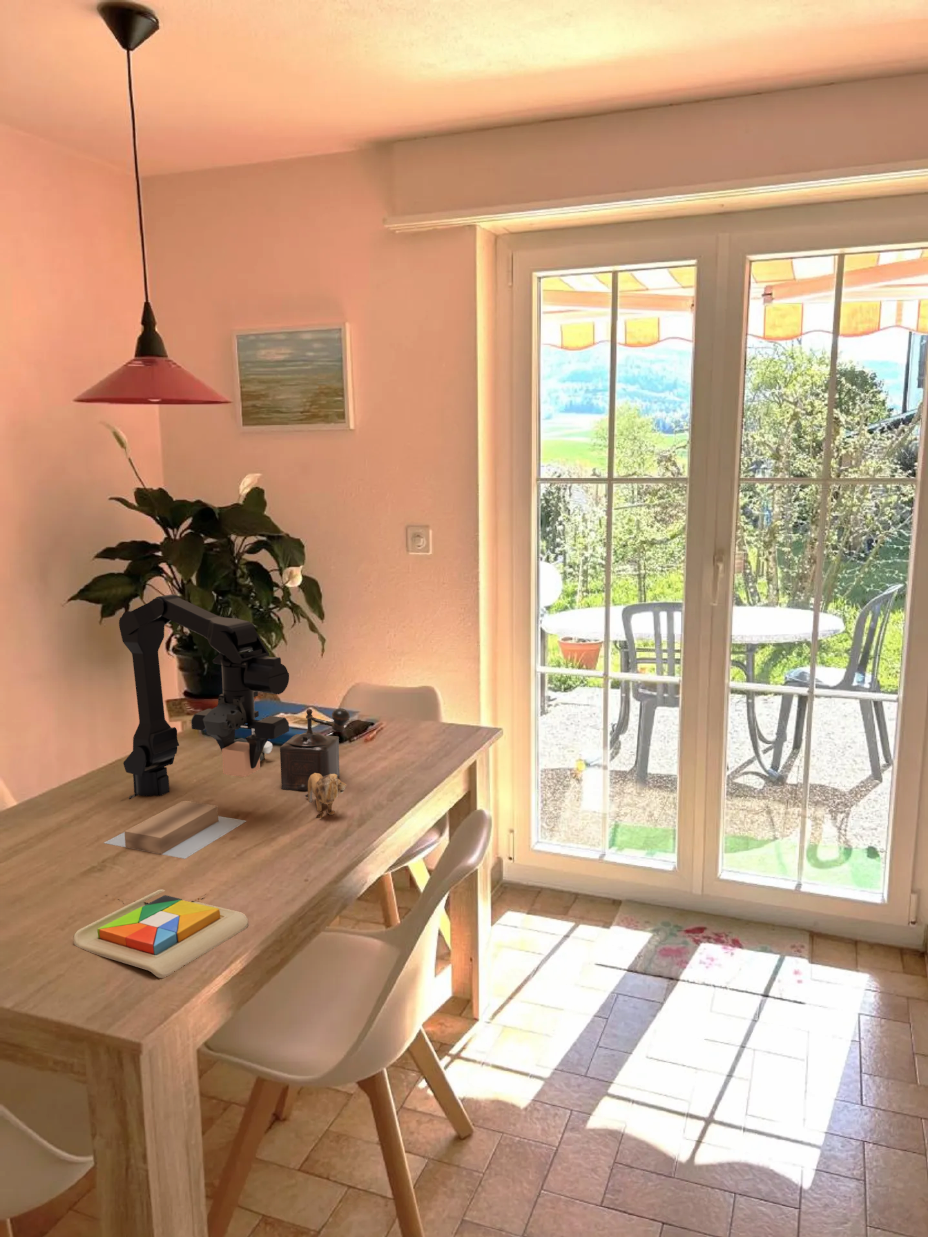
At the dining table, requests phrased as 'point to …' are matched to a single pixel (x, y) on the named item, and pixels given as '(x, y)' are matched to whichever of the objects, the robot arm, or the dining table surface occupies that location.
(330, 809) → the lion figurine
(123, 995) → the dining table surface
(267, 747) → the eagle figurine
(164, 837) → the plinth
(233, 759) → the cap block
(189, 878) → the dining table surface
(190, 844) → the build board
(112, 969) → the dining table surface
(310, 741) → the manual coffee grinder
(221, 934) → the wooden puzzle
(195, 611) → the robot arm
